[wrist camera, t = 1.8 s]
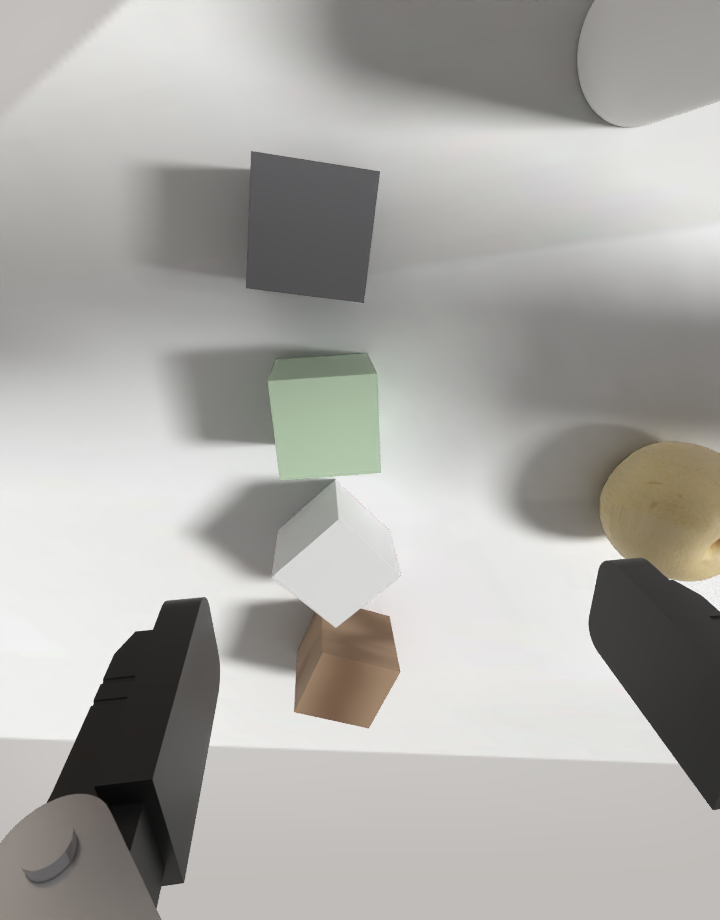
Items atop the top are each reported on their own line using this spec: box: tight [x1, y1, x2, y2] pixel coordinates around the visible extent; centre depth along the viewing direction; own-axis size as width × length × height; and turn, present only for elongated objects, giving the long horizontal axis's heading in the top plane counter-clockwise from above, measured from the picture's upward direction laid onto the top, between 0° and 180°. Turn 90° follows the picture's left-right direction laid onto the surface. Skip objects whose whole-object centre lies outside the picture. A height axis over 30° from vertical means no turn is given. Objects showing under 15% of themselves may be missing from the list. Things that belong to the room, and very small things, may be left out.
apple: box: [599, 442, 720, 581], centre depth 29 cm, size 8×8×8 cm
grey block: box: [271, 479, 402, 628], centre depth 29 cm, size 5×5×5 cm
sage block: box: [267, 353, 381, 481], centre depth 26 cm, size 5×5×5 cm
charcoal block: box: [246, 151, 380, 303], centre depth 23 cm, size 5×5×5 cm
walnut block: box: [294, 609, 400, 728], centre depth 33 cm, size 5×5×5 cm
